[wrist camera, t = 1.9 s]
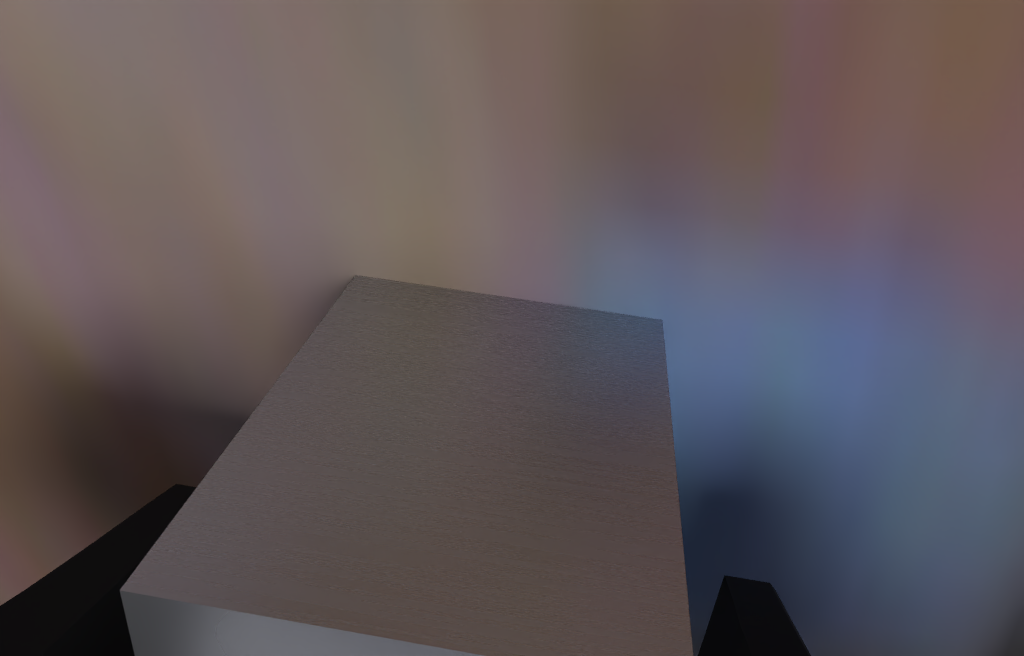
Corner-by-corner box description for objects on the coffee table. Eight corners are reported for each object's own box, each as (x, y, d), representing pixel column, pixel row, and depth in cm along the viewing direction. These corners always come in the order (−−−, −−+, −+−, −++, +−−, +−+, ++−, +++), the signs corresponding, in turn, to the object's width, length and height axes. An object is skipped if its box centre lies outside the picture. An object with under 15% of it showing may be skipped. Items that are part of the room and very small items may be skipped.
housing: (661, 317, 11) (696, 695, 6) (590, 640, 14) (571, 1060, 9) (357, 273, 11) (119, 591, 6) (359, 599, 15) (211, 983, 9)
